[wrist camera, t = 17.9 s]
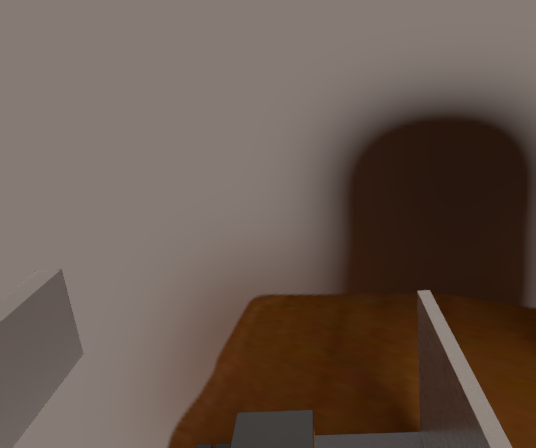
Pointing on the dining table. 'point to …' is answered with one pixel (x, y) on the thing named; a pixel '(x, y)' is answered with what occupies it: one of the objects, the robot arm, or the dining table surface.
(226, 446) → the long grooved rail
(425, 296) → the l-shaped metal bracket
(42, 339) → the robot arm
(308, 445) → the lever
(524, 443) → the dining table surface
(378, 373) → the dining table surface
